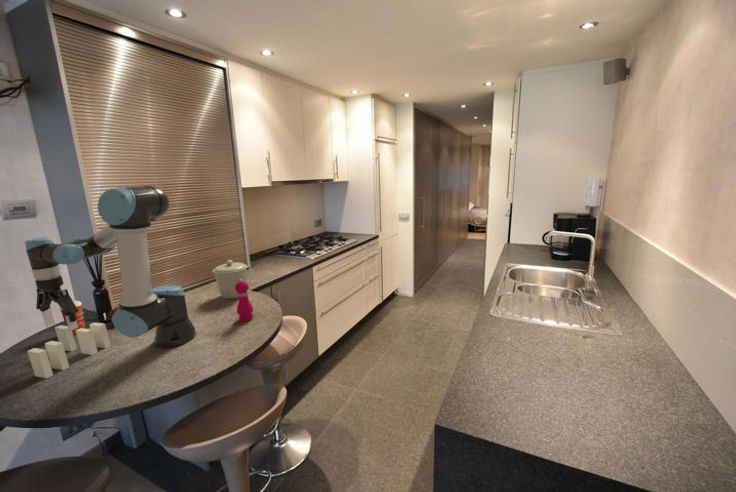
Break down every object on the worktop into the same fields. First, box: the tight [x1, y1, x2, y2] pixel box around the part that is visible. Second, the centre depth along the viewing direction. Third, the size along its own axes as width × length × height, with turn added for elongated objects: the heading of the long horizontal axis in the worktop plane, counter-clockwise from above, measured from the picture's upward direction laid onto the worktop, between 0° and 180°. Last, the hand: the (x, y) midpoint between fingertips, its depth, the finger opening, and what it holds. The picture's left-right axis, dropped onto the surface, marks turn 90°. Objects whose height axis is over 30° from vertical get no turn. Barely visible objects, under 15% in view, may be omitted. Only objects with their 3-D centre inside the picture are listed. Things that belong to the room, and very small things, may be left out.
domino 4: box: [75, 328, 99, 356], centre depth 128 cm, size 6×2×10 cm, turn 73°
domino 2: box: [54, 324, 78, 352], centre depth 132 cm, size 6×2×10 cm, turn 73°
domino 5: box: [89, 322, 111, 349], centre depth 133 cm, size 6×2×10 cm, turn 73°
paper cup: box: [58, 300, 86, 336], centre depth 146 cm, size 8×8×14 cm
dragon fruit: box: [105, 305, 120, 324], centre depth 155 cm, size 8×8×12 cm
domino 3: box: [44, 340, 70, 371], centre depth 119 cm, size 6×2×10 cm, turn 73°
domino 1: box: [27, 347, 54, 379], centre depth 114 cm, size 6×2×10 cm, turn 73°
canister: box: [212, 259, 248, 300], centre depth 181 cm, size 18×18×21 cm
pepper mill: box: [235, 279, 254, 322], centre depth 152 cm, size 7×7×20 cm
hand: (61, 327), depth 130 cm, fingers open, 13 cm apart
